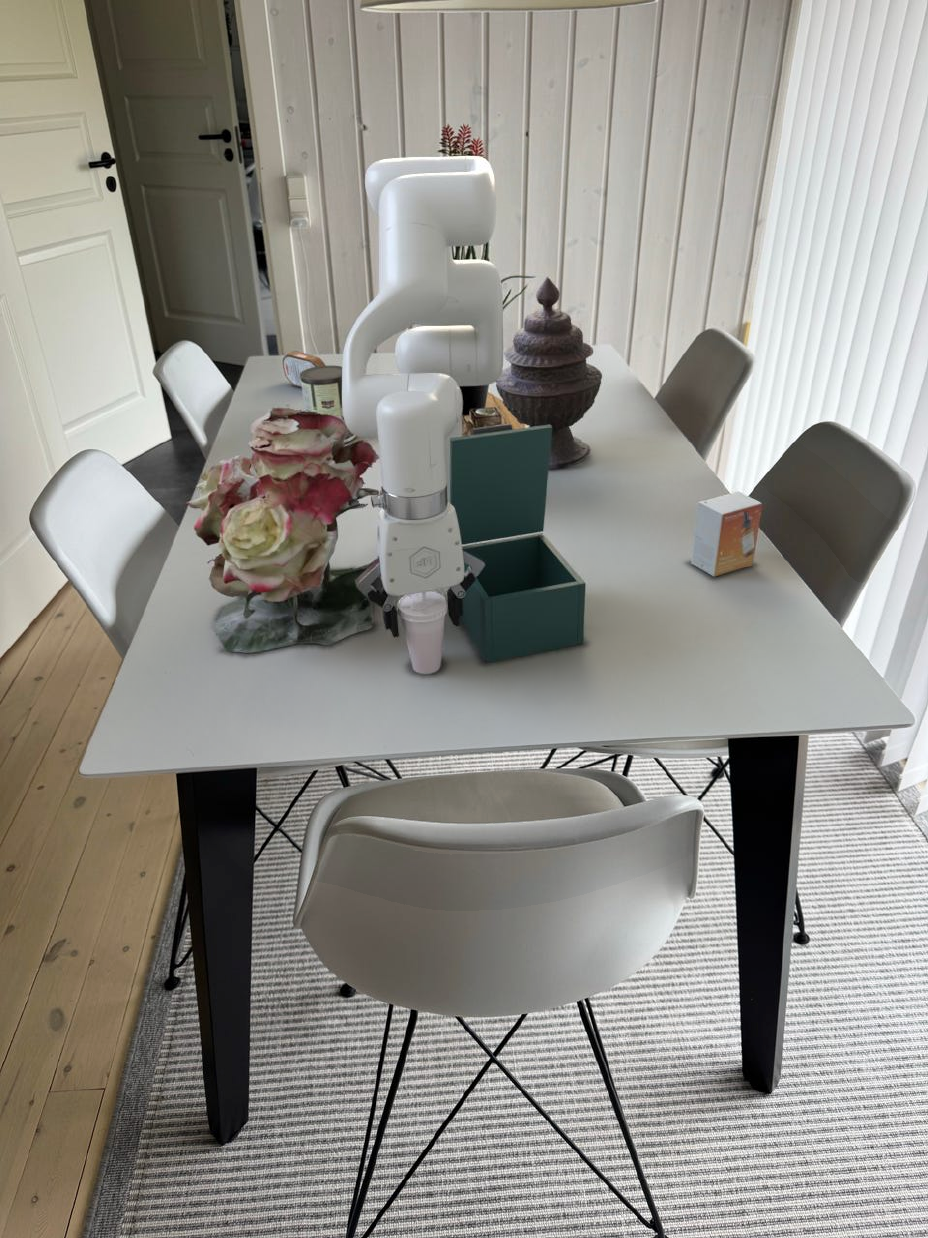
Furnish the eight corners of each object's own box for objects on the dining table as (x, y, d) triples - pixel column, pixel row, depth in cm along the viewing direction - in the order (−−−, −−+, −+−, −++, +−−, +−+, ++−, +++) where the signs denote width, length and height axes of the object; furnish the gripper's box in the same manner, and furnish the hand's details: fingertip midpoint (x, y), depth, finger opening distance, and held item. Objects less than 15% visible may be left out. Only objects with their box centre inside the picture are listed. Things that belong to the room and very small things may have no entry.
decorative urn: (594, 431, 189) (594, 257, 169) (609, 475, 173) (611, 287, 153) (497, 439, 190) (486, 267, 170) (503, 484, 173) (491, 298, 153)
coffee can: (342, 425, 200) (335, 361, 193) (364, 438, 193) (358, 372, 186) (299, 436, 195) (291, 371, 188) (321, 449, 188) (312, 382, 181)
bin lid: (552, 427, 119) (538, 408, 123) (451, 440, 116) (440, 421, 120) (543, 531, 130) (530, 511, 134) (451, 546, 127) (440, 525, 131)
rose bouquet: (222, 570, 144) (185, 384, 128) (405, 567, 142) (390, 379, 127) (173, 661, 122) (121, 450, 106) (388, 659, 121) (368, 444, 105)
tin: (332, 391, 222) (328, 357, 217) (322, 395, 220) (318, 360, 215) (292, 381, 230) (288, 347, 226) (283, 384, 228) (278, 350, 224)
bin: (583, 643, 122) (585, 583, 117) (486, 663, 119) (484, 601, 114) (541, 589, 135) (542, 532, 130) (453, 605, 132) (450, 547, 127)
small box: (713, 578, 136) (721, 514, 131) (689, 563, 141) (696, 501, 135) (754, 565, 139) (763, 502, 134) (729, 551, 144) (737, 489, 138)
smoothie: (458, 658, 120) (454, 565, 113) (437, 684, 115) (431, 589, 108) (416, 648, 123) (409, 557, 115) (393, 673, 118) (384, 579, 110)
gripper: (348, 523, 101) (363, 654, 111) (495, 500, 105) (497, 629, 115) (337, 497, 108) (351, 624, 117) (476, 477, 112) (480, 601, 121)
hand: (424, 625), depth 116 cm, fingers open, 7 cm apart
